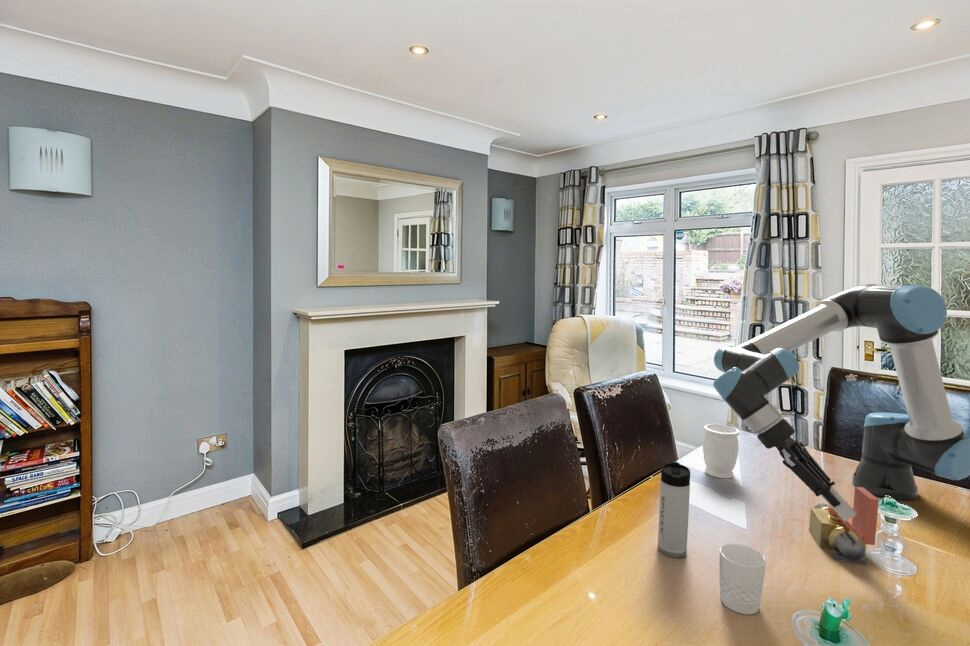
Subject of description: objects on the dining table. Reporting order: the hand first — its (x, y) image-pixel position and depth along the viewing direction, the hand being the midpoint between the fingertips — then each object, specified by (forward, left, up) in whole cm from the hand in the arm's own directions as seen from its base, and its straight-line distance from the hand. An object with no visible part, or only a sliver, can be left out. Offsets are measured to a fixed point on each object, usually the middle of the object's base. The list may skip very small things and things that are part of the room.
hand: (850, 517), depth 106 cm
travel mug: (+35, -12, -11) cm, 39 cm away
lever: (-4, -3, -4) cm, 6 cm away
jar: (-4, -50, -11) cm, 51 cm away
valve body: (-6, -9, -11) cm, 15 cm away
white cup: (+32, +7, -11) cm, 35 cm away
